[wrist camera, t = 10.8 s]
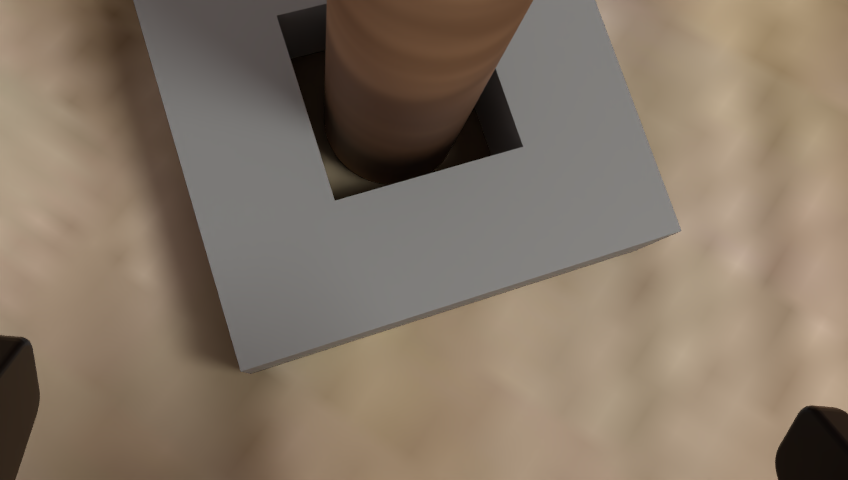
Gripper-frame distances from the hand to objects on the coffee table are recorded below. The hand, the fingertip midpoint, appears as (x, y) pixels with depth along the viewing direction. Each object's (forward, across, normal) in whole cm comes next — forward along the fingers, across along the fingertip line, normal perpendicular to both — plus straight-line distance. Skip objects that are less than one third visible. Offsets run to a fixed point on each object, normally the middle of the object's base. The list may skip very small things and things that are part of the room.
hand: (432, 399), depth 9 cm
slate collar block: (+15, 0, +4) cm, 16 cm away
